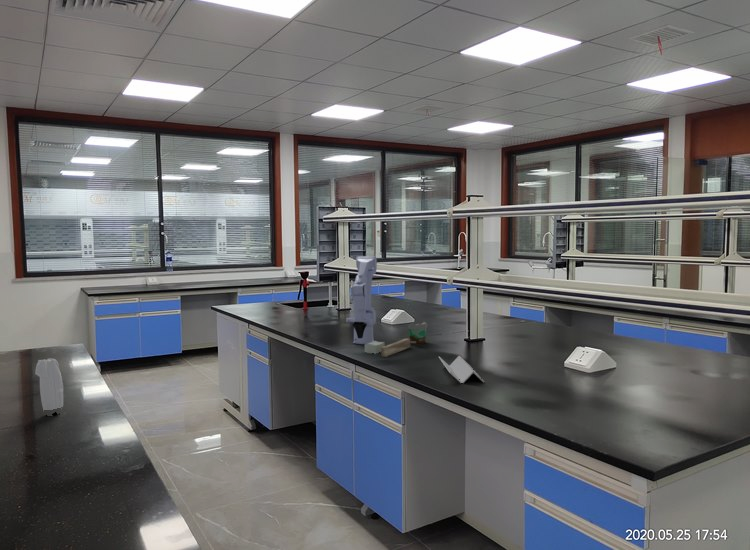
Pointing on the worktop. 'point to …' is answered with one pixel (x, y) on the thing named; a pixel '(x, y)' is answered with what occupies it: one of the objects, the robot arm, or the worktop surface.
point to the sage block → (374, 347)
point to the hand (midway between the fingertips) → (360, 338)
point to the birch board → (395, 347)
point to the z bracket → (460, 369)
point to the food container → (417, 333)
